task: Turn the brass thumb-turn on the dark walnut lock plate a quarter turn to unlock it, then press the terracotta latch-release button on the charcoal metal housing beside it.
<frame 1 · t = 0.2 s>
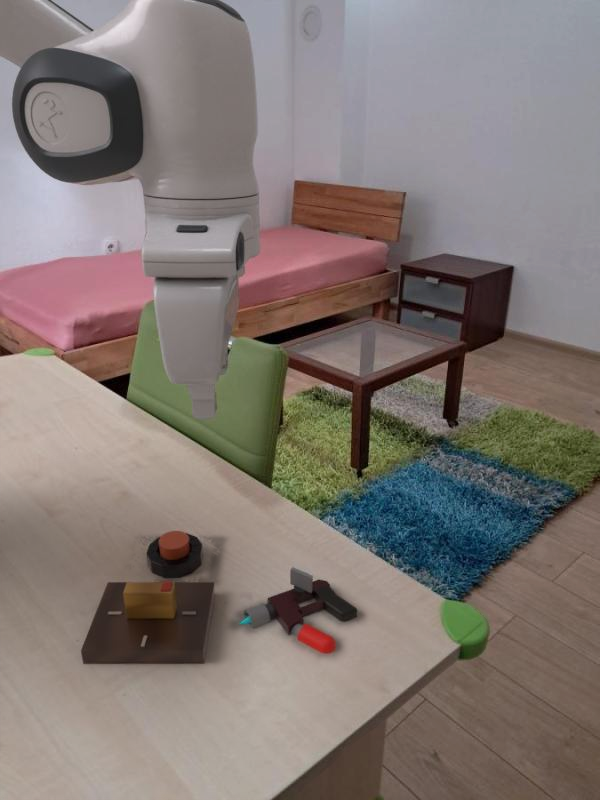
hand: (212, 392, 56), 29 cm above the table, tool pointing down, fingers open, 8 cm apart
lock plate: (154, 635, 68), on the table
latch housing: (176, 568, 78), on the table
toy gun: (301, 634, 69), on the table
lock turn: (150, 599, 66), point 5 cm above the table, hinge at 0.0°
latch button: (174, 545, 77), point 3 cm above the table, slide at 0.1 cm
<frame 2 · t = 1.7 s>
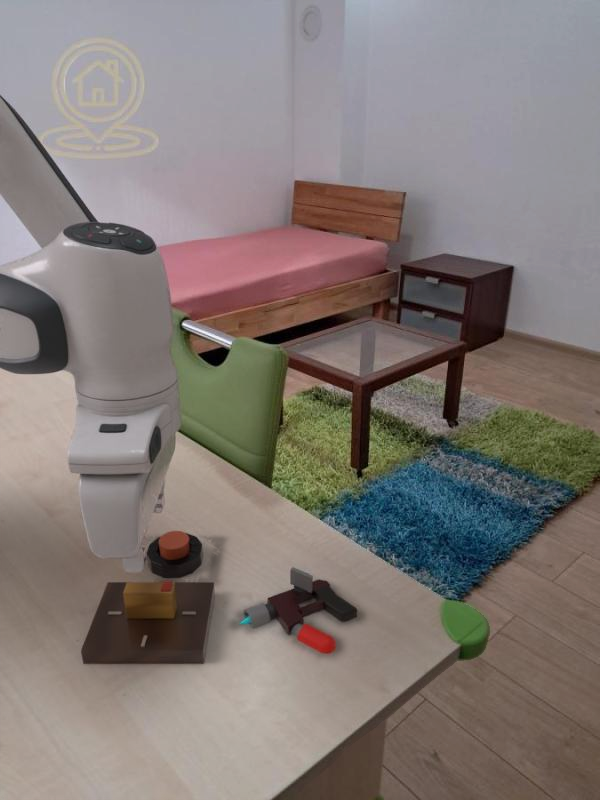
hand: (146, 536, 63), 13 cm above the table, tool pointing down, fingers open, 8 cm apart
nothing on the table moved.
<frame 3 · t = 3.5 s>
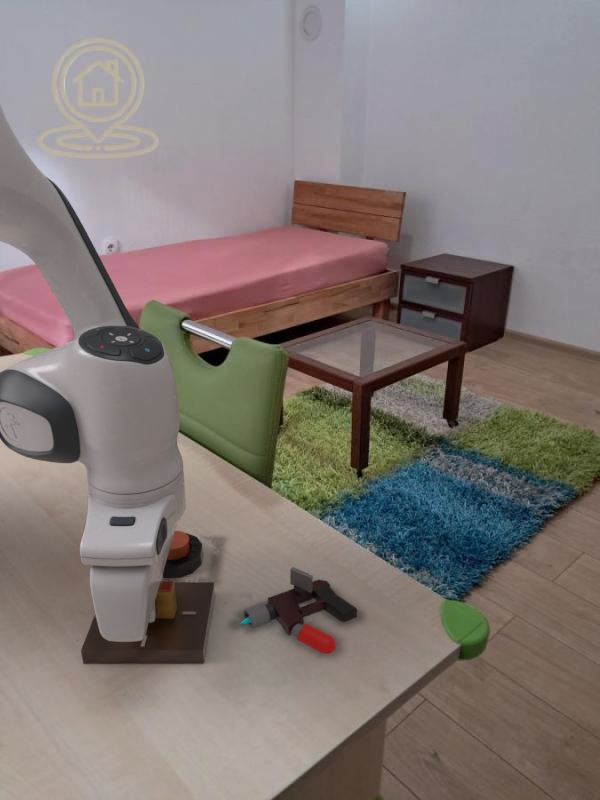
hand: (151, 607, 66), 4 cm above the table, tool pointing down, fingers closed on lock turn, 2 cm apart
lock turn: (150, 599, 66), point 5 cm above the table, hinge at 0.0°, touching gripper
everything else where it was.
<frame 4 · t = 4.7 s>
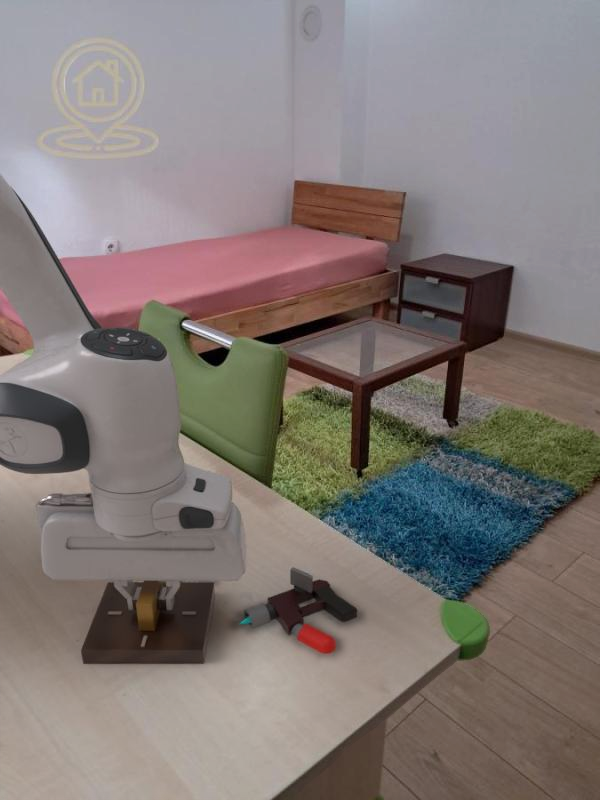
hand: (152, 606, 67), 4 cm above the table, tool pointing down, fingers closed on lock turn, 2 cm apart
lock turn: (150, 599, 66), point 5 cm above the table, hinge at 89.7°, touching gripper
everything else where it was.
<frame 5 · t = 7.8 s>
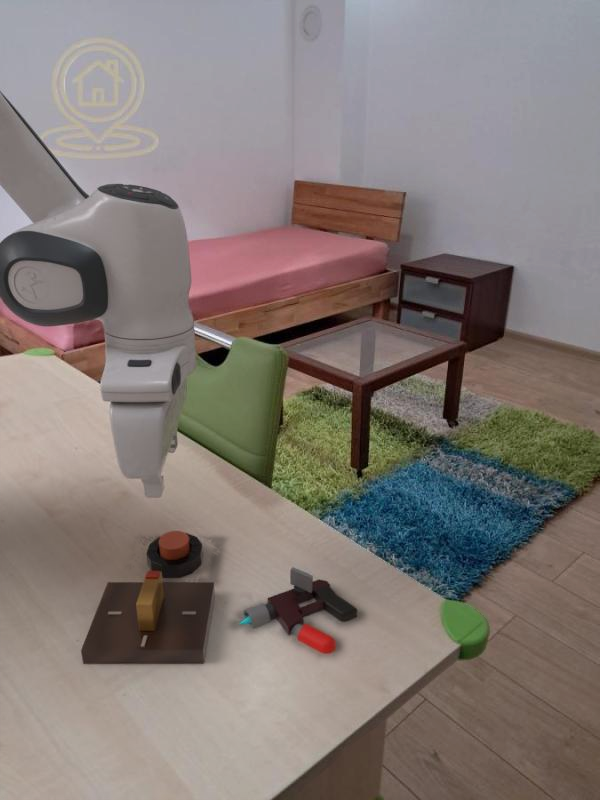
hand: (162, 470, 70), 15 cm above the table, tool pointing down, fingers open, 8 cm apart
lock turn: (150, 599, 66), point 5 cm above the table, hinge at 89.7°
everything else where it was.
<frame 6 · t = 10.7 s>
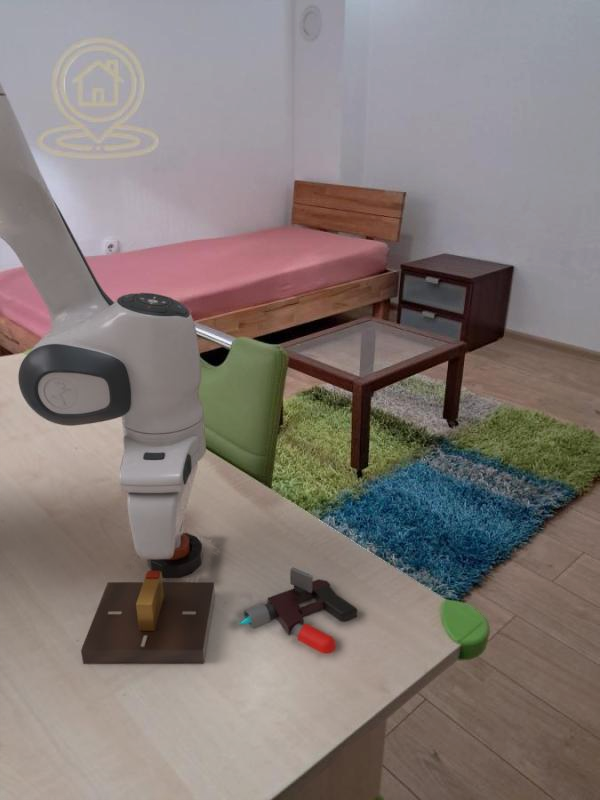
hand: (175, 541, 76), 4 cm above the table, tool pointing down, fingers closed, pressing on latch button
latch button: (174, 546, 77), point 3 cm above the table, slide at -0.1 cm, touching gripper
everything else where it was.
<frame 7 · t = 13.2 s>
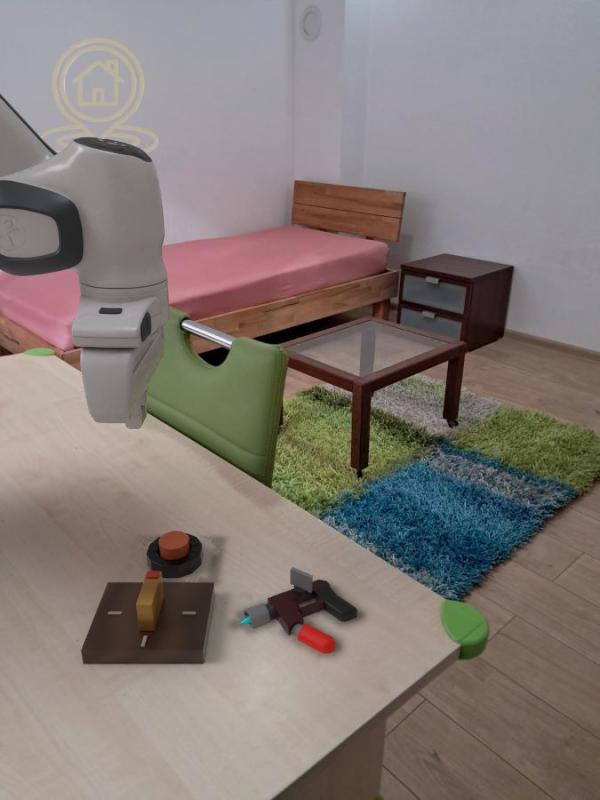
hand: (136, 423, 72), 19 cm above the table, tool pointing down, fingers closed
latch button: (174, 545, 77), point 3 cm above the table, slide at 0.1 cm
everything else where it was.
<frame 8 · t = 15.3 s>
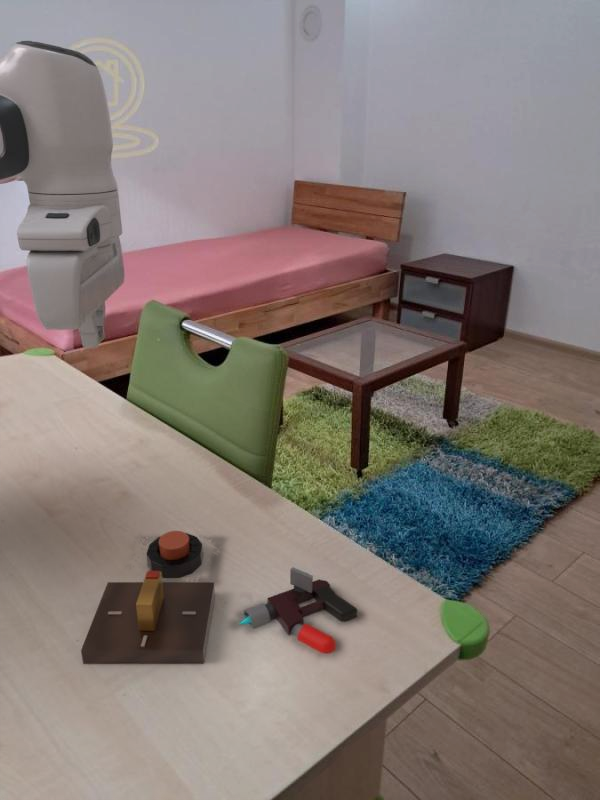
hand: (94, 343, 72), 27 cm above the table, tool pointing down, fingers closed
nothing on the table moved.
at the end: lock turn at +90° (first picture: +0°); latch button pushed in 1.1 cm at the most during the clip, back to where it started at the end; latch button slide at 0.1 cm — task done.
